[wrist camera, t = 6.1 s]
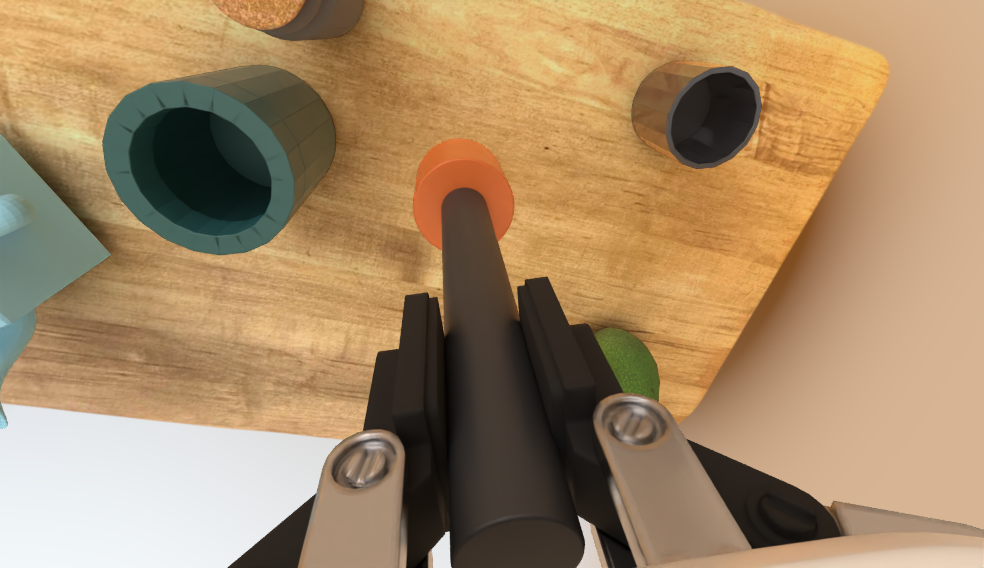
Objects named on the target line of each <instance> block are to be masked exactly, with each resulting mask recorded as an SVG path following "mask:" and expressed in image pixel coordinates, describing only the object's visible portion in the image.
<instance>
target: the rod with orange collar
mask: <svg viewBox="0 0 984 568" xmlns="http://www.w3.org/2000/svg"><path fill="white" fill-rule="evenodd" d="M413 214H414V218H415V222H416V224H417V227H418V229H419V230H420V232H421V233H422V235H423V236H424V237H425V238H426V239H427V240H428V241H429V242H430V243H431V244H432V245H434V246H435V247H437V248H438V249H440V250H442V262H443V299H444V336H445V366H446V402H447V439H448V486H449V523H450V559H451V567H452V568H576V567H577V566H578V564H579V563H580V561H581V560H582V557H583V554H584V549H585V540H584V536H583V533H582V529H581V526H580V522H579V519H578V516H577V512H576V509H575V505H574V502H573V498H572V495H571V492H570V488H569V485H568V481H567V478H566V474H565V471H564V467H563V464H562V461H561V457H560V454H559V450H558V447H557V444H556V443H555V441H554V439H553V436H552V433H551V429H550V426H549V422H548V419H547V415H546V412H545V408H544V405H543V401H542V398H541V394H540V391H539V387H538V384H537V380H536V377H535V373H534V370H533V366H532V363H531V359H530V356H529V352H528V349H527V345H526V342H525V338H524V335H523V331H522V328H521V324H520V319H519V313H518V310H517V306H516V303H515V299H514V296H513V292H512V289H511V286H510V282H509V279H508V275H507V272H506V268H505V265H504V261H503V258H502V255H501V251H500V248H499V244H498V241H499V240H500V239H501V238H502V237H503V236H504V235H505V233H506V232H507V230H508V228H509V227H510V224H511V222H512V218H513V214H514V197H513V193H512V190H511V188H510V185H509V183H508V181H507V179H506V177H505V175H504V173H503V171H502V168H501V166H500V164H499V162H498V160H497V159H496V157H495V156H494V155H493V153H492V152H491V151H490V150H489V149H487V148H486V147H485V146H483V145H482V144H480V143H478V142H475V141H472V140H468V139H451V140H447V141H444V142H442V143H440V144H438V145H436V146H435V147H433V148H432V149H431V150H430V151H429V152H428V153H427V154H426V155H425V156H424V158H423V159H422V161H421V163H420V165H419V168H418V171H417V177H416V185H415V192H414V199H413Z"/></svg>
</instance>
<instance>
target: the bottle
mask: <svg viewBox="0 0 984 568" xmlns="http://www.w3.org/2000/svg"><path fill="white" fill-rule="evenodd" d="M212 1H213V2H214V3H215V4H216V6H217V7H218V8H219V9H220V10H221V11H222V12H223V13H225V14H226V15H227V16H228V17H230V18H231V19H233V20H234V21H236V22H238V23H240V24H242V25H244V26H247V27H250V28H254V29H256V30H259V31H262V32H264V33H266V34H268V35H270V36H273V37H276V38H279V39H283V40H290V41H301V40H317V39H328V38H334V37H339V36H342V35H344V34H346V33H347V32H349V31H350V30H351V29H352V28H353V27H354V26H355V25H356V23H357V22H358V20H359V18H360V16H361V14H362V9H363V3H364V0H212Z"/></svg>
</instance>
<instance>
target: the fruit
mask: <svg viewBox="0 0 984 568" xmlns="http://www.w3.org/2000/svg"><path fill="white" fill-rule="evenodd" d="M594 336H595V338H596V339H597V341H598V343H599V345H600V347H601V349H602V351H603V353H604V355H605V357H606V359H607V361H608V363H609V365H610V367H611V368H612V370H613V372H614V374H615V376H616V378H617V380H618V382H619V384H620V386H621V388H622V390H623V392H624V393H635V394H640V395H644V396H647V397H649V398H652V399H654V400H656V401H657V402H658V401H659V385H660V380H659V374H658V369H657V364H656V362H655V360H654V358H653V356H652V355H651V353H650V351H649V350H648V348H647V347H646V346H645V345H644V343H643V342H642V341H640V340H639V339H638V338H637V337H635V336H634V335H632V334H631V333H629V332H628V331H626V330H622V329H618V328H614V327H608V328H604V329H601V330H599V331H597V332H596V333H595V334H594Z"/></svg>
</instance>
